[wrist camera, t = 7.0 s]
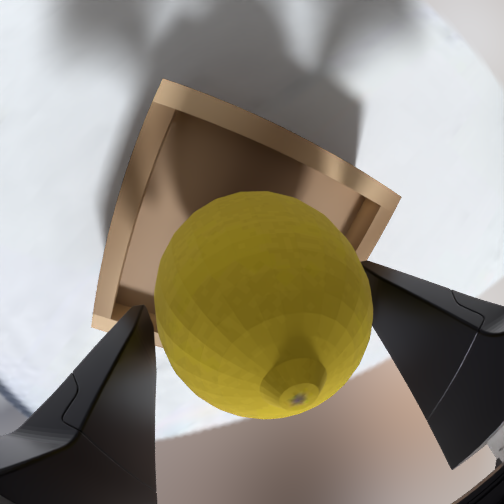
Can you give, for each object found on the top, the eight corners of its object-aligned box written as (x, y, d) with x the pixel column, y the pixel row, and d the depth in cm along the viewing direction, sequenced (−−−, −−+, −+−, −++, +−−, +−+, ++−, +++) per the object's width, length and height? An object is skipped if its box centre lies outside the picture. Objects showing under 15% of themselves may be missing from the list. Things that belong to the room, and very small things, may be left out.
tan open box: (354, 174, 15) (401, 197, 11) (272, 321, 18) (291, 371, 14) (172, 90, 11) (162, 78, 7) (110, 277, 15) (91, 327, 11)
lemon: (209, 155, 10) (218, 146, 3) (329, 220, 12) (476, 309, 4) (150, 281, 12) (98, 443, 4) (266, 327, 13) (325, 481, 6)
